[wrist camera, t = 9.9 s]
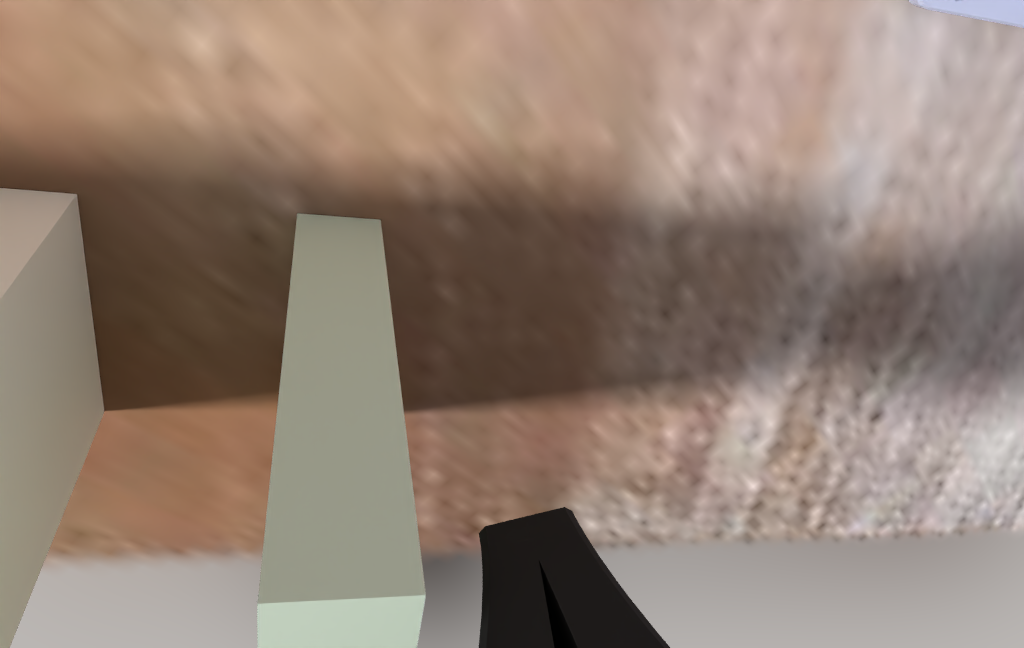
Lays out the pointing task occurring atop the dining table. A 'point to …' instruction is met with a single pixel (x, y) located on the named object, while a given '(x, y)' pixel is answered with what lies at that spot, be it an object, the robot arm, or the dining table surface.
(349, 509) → the sage domino
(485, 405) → the dining table surface
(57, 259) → the domino
